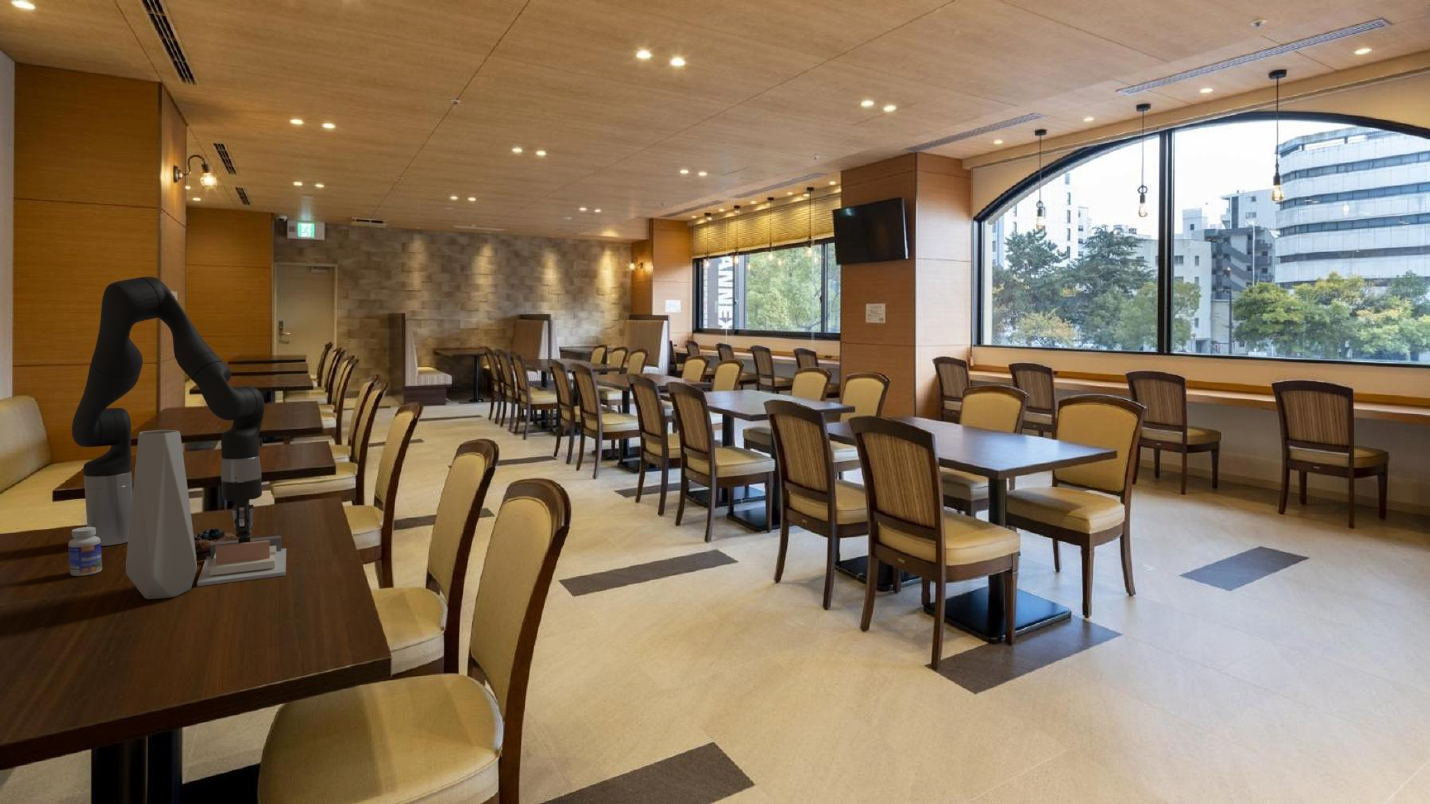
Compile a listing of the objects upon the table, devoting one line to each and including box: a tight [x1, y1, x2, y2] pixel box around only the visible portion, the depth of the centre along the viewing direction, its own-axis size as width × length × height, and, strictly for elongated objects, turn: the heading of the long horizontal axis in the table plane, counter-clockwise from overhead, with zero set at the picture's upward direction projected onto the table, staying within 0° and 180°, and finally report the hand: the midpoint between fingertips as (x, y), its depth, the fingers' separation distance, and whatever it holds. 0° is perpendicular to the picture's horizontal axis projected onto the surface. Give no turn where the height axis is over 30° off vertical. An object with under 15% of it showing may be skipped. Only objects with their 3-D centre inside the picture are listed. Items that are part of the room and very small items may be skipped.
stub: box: [210, 540, 276, 576], centre depth 167 cm, size 5×12×5 cm, turn 119°
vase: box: [125, 429, 198, 600], centre depth 153 cm, size 12×12×33 cm
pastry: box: [194, 527, 238, 561], centre depth 182 cm, size 11×12×6 cm
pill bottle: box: [68, 526, 103, 577], centre depth 166 cm, size 5×5×10 cm
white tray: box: [196, 535, 287, 587], centre depth 171 cm, size 20×16×4 cm
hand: (245, 553), depth 170 cm, fingers closed
